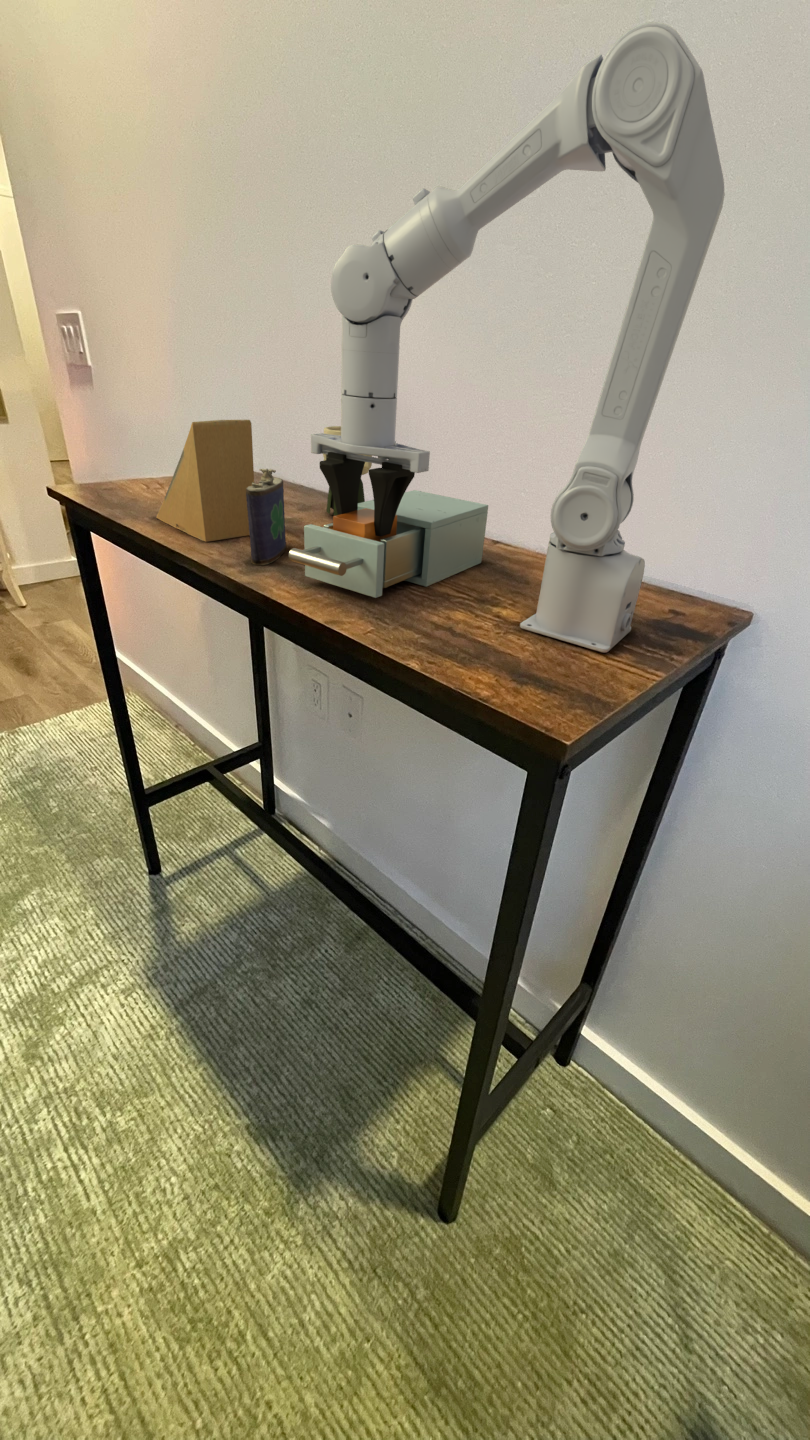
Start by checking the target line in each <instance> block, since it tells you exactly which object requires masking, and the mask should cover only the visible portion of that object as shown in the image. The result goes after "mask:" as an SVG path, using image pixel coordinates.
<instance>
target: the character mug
mask: <svg viewBox="0 0 810 1440" xmlns="http://www.w3.org/2000/svg"><path fill="white" fill-rule="evenodd" d="M323 433H324V434H331V435H339V436H341V425H333V426H332V425H331V426H326V427H324V428H323ZM359 455H362V454H359ZM365 456H370V457H373V456H371V455H365ZM322 457H323V461H325V460H326V458H328V455H327V454H322ZM372 466H373V463H370V462H365V464H364V468H363V471H362V476H364V475H366V474H369V469H372ZM361 502H366V499H365V489H364V482H363V480H362V479H361V480H360V485H359V492H358V503H361ZM331 510H333V516H336V515H338V513H337V509H336V505H335V502H334V498H333V495H332V492H331V490H330V487H329V486H328V492H327V503H326V513H327V514H329V515H330V514H331Z"/></svg>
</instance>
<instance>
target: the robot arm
mask: <svg viewBox="0 0 810 1440" xmlns="http://www.w3.org/2000/svg"><path fill="white" fill-rule="evenodd" d="M718 149H719V148H718V144H717V139H716V135H715V129H714V124H713V119H712V114H711V109H710V104H709V97H708V92H707V86H706V82H705V76H704V72H703V69H702V66H701V65H700V64H699V62H698V60H697V59H696V57H695V56H694V55H693V52H692V51H691V49H690V48H689V47H688V45H687V44H686V42H685V40H684V39H683V37H682V36H681V34H680V33H679V32H678V31H677V30H676V29H675V28H674V27H672V26H671V25H668V24H667V23H664V22H659V21H649V22H644V23H641V24H638V25H636V26H634V27H633V28H630V29H629V30H627V31H626V32H624V34H622V35H621V36H620V37H619V38H618V39H617V40H616V41H615V42H614V43H613V45H611V47H610V48H609V49H608V51H607V52H606V55H605V56H604V57H603V55H602V54H601V53H600V54H599V55H597V56H595V57H594V58H592V59H591V60H589V61H588V62H586V63H585V64H584V65H582V66H581V67H580V69H579V70H578V71H577V72H576V73H575V74H574V76H573V77H572V78H571V79H570V81H569V82H568V83H567V84H566V86H565V87H564V88H563V89H562V90H561V91H560V92H559V94H558V95H557V96H556V97H555V98H553V100H552V101H551V102H550V103H548V104H547V105H546V106H545V107H544V108H543V109H542V110H541V111H540V112H539V113H538V114H537V115H535V117H534V118H533V119H531V120H530V121H529V122H528V123H527V124H526V125H525V126H524V127H523V128H522V129H520V131H518V133H516V134H515V135H514V136H513V137H512V138H511V139H510V140H509V141H508V142H507V143H506V144H504V146H502V148H500V150H498V151H497V152H496V153H495V154H494V155H493V156H492V157H491V158H490V159H489V160H488V161H487V162H486V163H485V164H483V166H482V167H481V168H479V169H478V170H477V171H476V172H475V173H474V174H473V175H472V176H471V177H469V178H468V180H467V181H465V182H464V183H463V184H462V185H461V186H460V187H459V188H458V189H452V188H448V187H445V186H436V187H434V188H433V189H432V190H431V191H430V190H428V189H426V188H421V189H420V190H419V191H418V192H417V193H415V194H414V195H413V196H412V201H413V204H414V206H412V207H411V208H410V209H409V210H407V211H406V213H405V214H403V215H402V216H401V217H400V218H398V220H396V221H395V222H394V223H392V225H391V226H389V227H388V228H387V229H386V230H385V231H384V230H381V229H378V230H377V231H376V232H374V233H373V234H372V236H371V241H372V242H371V245H365V244H357V243H356V244H352V245H349V246H347V247H346V248H345V249H344V252H343V253H342V255H341V256H340V257H339V258H338V259H337V260H336V262H335V265H334V267H333V269H332V273H331V278H330V291H331V297H332V300H333V303H334V305H335V307H336V309H337V310H338V312H339V313H340V314H341V370H340V371H341V373H340V374H341V384H340V385H341V386H340V387H341V389H340V393H341V395H340V396H341V398H340V402H341V403H340V415H341V416H340V426H341V436H339V435H331V434H324V432H322V433H321V432H320V433H312V434H310V453H311V454H315V455H321V454H322V455H323V454H327V455H328V458H326V460H325V461H324V460H320V461H319V469H320V471H321V473H322V475H323V476H324V478H325V481H326V482H327V483H326V484H327V485H328V488H329V487H330V490H331V492H332V495H333V498H334V502H335V505H336V509H337V513H338V515H340V514H345V513H349V512H353V511H357V510H358V492H359V485H360V480H362V476H363V475H362V471H363V468H364V464H365V462H370V463H372V464H376V465H381V467H375V468H370V469H369V471H368V476H369V481H370V484H371V489H372V496H373V500H374V527H375V535H376V536H379V537H381V536H384V535H388V534H390V533H391V529H392V525H393V522H394V518H395V515H396V512H397V509H398V507H399V504H400V502H401V499H402V497H403V495H404V493H405V492H407V490H408V488H409V486H410V484H411V482H412V481H413V479H414V478H415V474H421V473H425V472H429V469H430V455H431V451H429V450H425V449H420V448H416V447H412V446H409V445H406V444H405V445H404V444H401V443H397V441H396V428H397V409H398V407H397V405H398V387H399V386H398V385H399V367H400V365H399V364H400V343H401V342H400V341H401V339H400V338H401V326H402V322H403V320H404V319H405V317H406V316H407V314H408V313H409V311H410V310H411V306H412V303H413V300H416V299H417V298H418V297H420V295H422V294H423V293H424V292H426V291H428V289H429V288H431V287H432V286H434V285H435V284H436V283H437V282H439V281H440V280H441V279H443V278H444V277H446V276H447V275H448V274H450V273H451V272H452V271H453V270H455V269H456V268H457V267H458V266H460V265H461V264H463V263H464V262H465V261H466V260H467V259H469V258H470V257H471V256H472V254H473V251H474V248H475V243H476V240H477V237H478V233H479V231H480V230H481V229H482V228H484V227H486V225H488V224H489V223H491V222H492V221H494V220H495V219H497V218H498V217H499V216H501V215H502V214H504V213H505V212H506V211H508V210H509V209H511V208H512V207H513V206H515V205H517V204H518V203H519V202H521V201H522V200H523V199H525V198H526V197H528V196H529V195H530V194H532V193H533V192H535V191H536V190H537V189H539V188H541V187H542V186H543V185H544V184H546V183H548V182H549V181H550V180H552V179H553V178H554V177H556V176H557V175H558V174H560V173H562V172H563V171H567V170H568V171H569V170H570V171H585V172H605V171H606V154H609V153H612V156H613V159H614V161H615V162H616V164H617V165H618V167H619V168H620V169H621V170H622V171H623V172H624V173H626V174H627V176H629V177H630V178H631V179H632V180H633V181H635V182H636V183H637V184H638V185H639V187H640V188H641V191H642V193H643V195H644V197H645V199H646V201H647V203H648V205H649V207H650V209H651V211H652V217H653V218H652V222H651V225H650V228H649V232H648V235H647V238H646V242H645V245H644V249H643V251H642V255H641V258H640V260H639V261H640V262H639V265H638V268H637V271H636V274H635V278H634V282H633V285H632V288H631V292H630V295H629V297H628V301H627V305H626V308H625V312H624V315H623V318H622V321H621V325H620V328H619V332H618V335H617V337H616V338H617V339H616V342H615V345H614V349H613V352H612V355H611V358H610V362H609V365H608V369H607V372H606V375H605V379H604V382H603V385H602V388H601V393H600V396H599V399H598V401H597V404H596V409H595V412H594V414H593V415H594V416H593V418H592V422H591V425H590V429H589V431H588V435H587V437H586V439H585V442H584V444H583V446H582V448H581V451H580V453H579V455H578V457H577V460H576V462H575V465H574V468H573V471H572V474H571V477H570V478H569V480H568V482H567V484H566V485H565V486H564V487H563V488H562V489H561V490H560V491H559V493H557V495H556V497H555V498H554V499H553V500H554V501H553V502H552V505H551V508H550V525H551V529H552V531H553V532H551V533H550V534H549V541H548V545H547V549H546V550H547V551H546V556H545V562H544V568H543V572H542V578H541V584H540V591H539V595H538V601H537V606H536V613H534V614H533V615H531V616H529V617H528V618H526V619H525V620H523V621H521V622H520V623H519V628H520V629H522V630H525V631H529V632H532V633H536V634H539V635H543V636H546V637H549V638H552V639H556V640H559V641H563V642H565V643H570V644H573V645H576V646H579V647H584V648H586V649H589V650H592V651H596V652H599V653H604V654H605V653H608V652H609V651H611V650H612V649H613V648H614V647H615V646H616V645H617V644H618V643H619V642H620V641H621V640H622V639H623V638H625V637H626V636H627V635H628V634H629V633H631V631H632V622H633V617H634V614H635V610H636V606H637V602H638V598H639V595H640V591H641V586H642V583H643V578H644V574H645V566H646V562H645V559H644V558H643V557H641V556H638V555H634V554H631V553H629V552H628V551H626V550H625V546H626V541H625V540H624V539H623V536H622V535H621V532H620V530H619V528H620V525H621V524H622V523H624V522H625V520H626V519H627V518H628V516H629V514H630V513H631V511H632V508H633V506H634V505H633V504H634V501H635V500H634V498H635V497H634V489H633V488H634V487H633V477H634V473H635V469H636V467H637V463H638V460H639V455H640V450H641V446H642V443H643V439H644V436H645V433H646V431H647V428H648V425H649V422H650V419H651V417H652V414H653V410H654V407H655V404H656V402H657V398H658V396H659V393H660V390H661V387H662V385H663V381H664V378H665V376H666V372H667V370H668V367H669V364H670V361H671V359H672V355H673V353H674V350H675V346H676V344H677V341H678V337H679V335H680V332H681V329H682V326H683V323H684V320H685V317H686V315H687V312H688V309H689V306H690V303H691V300H692V297H693V294H694V291H695V288H696V285H697V283H698V281H699V280H698V279H699V277H700V275H701V271H702V268H703V265H704V263H705V260H706V256H707V254H708V250H709V248H710V245H711V242H712V239H713V236H714V233H715V231H716V228H717V224H718V221H719V219H720V216H721V214H722V210H723V207H724V206H723V205H724V200H725V197H726V196H725V195H726V194H725V182H724V181H725V179H724V173H723V169H722V163H721V158H720V153H719V150H718ZM359 454H362V455H359ZM365 455H371V456H372V457H370V456H365Z"/></svg>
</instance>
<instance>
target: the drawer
mask: <svg viewBox="0 0 810 1440" xmlns="http://www.w3.org/2000/svg"><path fill="white" fill-rule="evenodd" d="M425 529H426V528H423V527H419V526H414V525H410V524H406V523H402V522H397V531H396V535H395V536H391V537H388V538H385V539H382V540H381V542H378V541H374V540H371V539H367V538H363V537H359V536H355V535H351V534H347V533H343V532H339V531H336V530H333V522H330V523H327V524H324V525H323V526H319V525H316V524H312V523H310V524H306V525H304V526H303V539H304V540H303V541H304V542H303V545H304V546H303V547H304V548H303V549H299V548H296V547H293V548H291V549H290V550H289V552H288V559H289V561H291V562H294V563H297V564H300V565H303V566H304V577H307V578H310V579H313V580H317V581H320V582H323V583H326V584H329V585H333V586H337V587H339V588H343V589H345V590H350V591H351V592H356V593H358V594H362V595H365V596H368V597H371V598H375V599H376V598H379V597H382V596H383V589H386V588H389V587H391V586H393V585H395V584H398V583H400V582H403V581H405V580H406V579H408V578H411V577H413V576H416V575H418V574H421V573H422V567H423V554H424V541H425Z"/></svg>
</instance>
